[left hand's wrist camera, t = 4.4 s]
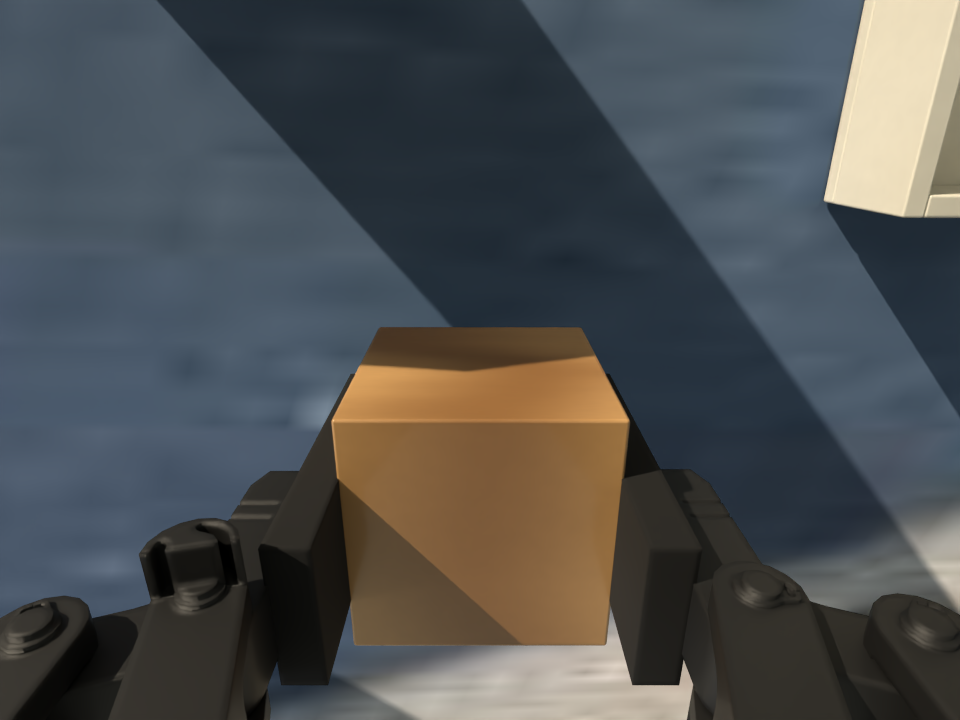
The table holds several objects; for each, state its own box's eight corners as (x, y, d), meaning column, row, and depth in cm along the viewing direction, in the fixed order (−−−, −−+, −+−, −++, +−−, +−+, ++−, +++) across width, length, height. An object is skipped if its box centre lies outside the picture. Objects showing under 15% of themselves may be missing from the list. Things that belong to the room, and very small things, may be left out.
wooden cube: (389, 498, 16) (353, 647, 11) (378, 326, 14) (330, 420, 10) (570, 498, 16) (607, 647, 11) (582, 326, 14) (631, 420, 10)
